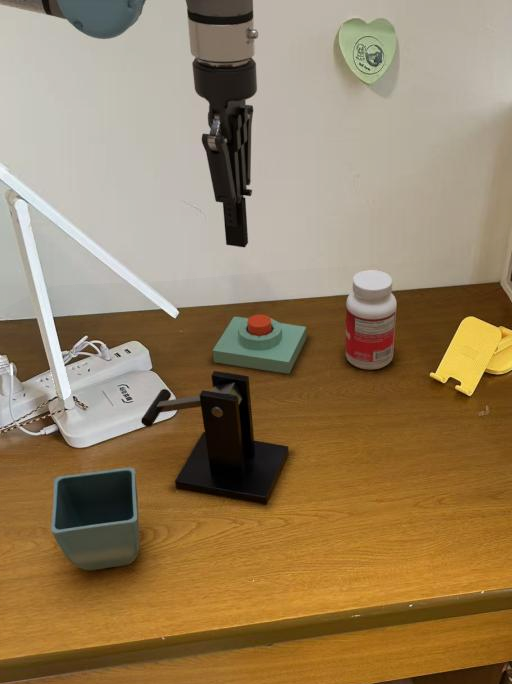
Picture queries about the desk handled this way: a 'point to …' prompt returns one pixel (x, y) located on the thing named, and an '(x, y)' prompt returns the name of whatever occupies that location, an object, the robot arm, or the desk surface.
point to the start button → (259, 325)
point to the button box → (260, 346)
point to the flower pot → (97, 518)
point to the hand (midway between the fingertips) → (237, 243)
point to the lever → (182, 402)
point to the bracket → (231, 448)
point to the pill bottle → (370, 320)
